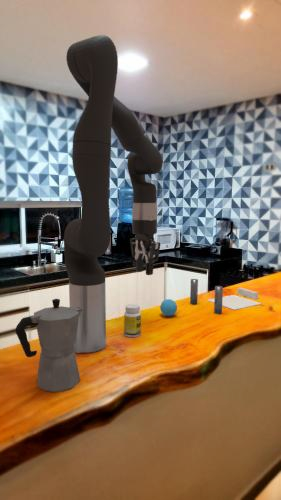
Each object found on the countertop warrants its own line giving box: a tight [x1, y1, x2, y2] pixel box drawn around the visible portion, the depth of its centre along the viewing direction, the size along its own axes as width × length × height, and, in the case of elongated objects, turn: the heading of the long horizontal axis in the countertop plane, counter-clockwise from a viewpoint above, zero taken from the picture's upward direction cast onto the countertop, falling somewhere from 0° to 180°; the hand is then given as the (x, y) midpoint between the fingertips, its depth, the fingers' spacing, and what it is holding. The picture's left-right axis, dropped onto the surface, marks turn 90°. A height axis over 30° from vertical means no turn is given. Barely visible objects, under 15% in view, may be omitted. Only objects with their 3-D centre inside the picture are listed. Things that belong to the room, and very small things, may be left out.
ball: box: [159, 299, 178, 317], centre depth 120 cm, size 6×6×6 cm
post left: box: [189, 278, 199, 306], centre depth 133 cm, size 3×3×9 cm
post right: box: [213, 285, 224, 315], centre depth 123 cm, size 3×3×9 cm
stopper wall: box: [237, 287, 259, 300], centre depth 144 cm, size 2×9×2 cm, turn 32°
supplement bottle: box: [123, 303, 142, 338], centre depth 104 cm, size 5×5×8 cm
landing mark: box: [206, 294, 263, 311], centre depth 136 cm, size 14×14×1 cm
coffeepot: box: [15, 298, 84, 393], centre depth 76 cm, size 15×9×18 cm, turn 134°
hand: (144, 272), depth 113 cm, fingers open, 5 cm apart
